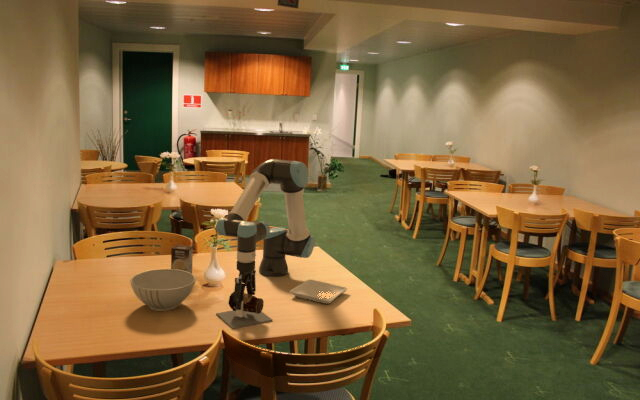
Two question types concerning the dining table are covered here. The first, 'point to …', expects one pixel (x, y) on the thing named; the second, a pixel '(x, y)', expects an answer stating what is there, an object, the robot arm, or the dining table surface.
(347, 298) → the dining table surface
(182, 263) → the coffee box
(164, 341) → the dining table surface
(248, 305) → the coffee cup
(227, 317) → the rubber mat
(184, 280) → the decorative bowl
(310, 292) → the salad plate
